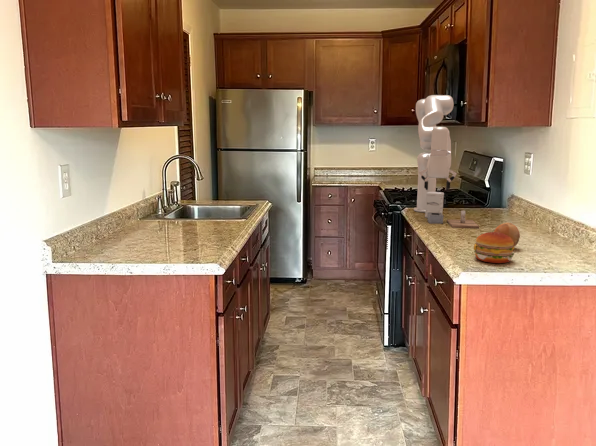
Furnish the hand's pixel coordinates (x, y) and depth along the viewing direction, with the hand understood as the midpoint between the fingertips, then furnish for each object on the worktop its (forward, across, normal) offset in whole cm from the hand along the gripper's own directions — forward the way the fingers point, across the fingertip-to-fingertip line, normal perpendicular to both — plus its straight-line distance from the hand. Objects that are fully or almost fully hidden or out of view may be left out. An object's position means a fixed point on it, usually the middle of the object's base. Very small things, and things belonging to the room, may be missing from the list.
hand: (436, 190), depth 262 cm
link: (+16, 0, 0) cm, 16 cm away
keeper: (+16, -12, +5) cm, 20 cm away
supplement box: (+16, -1, -14) cm, 21 cm away
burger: (+17, -11, +73) cm, 75 cm away
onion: (+16, -20, +53) cm, 59 cm away
